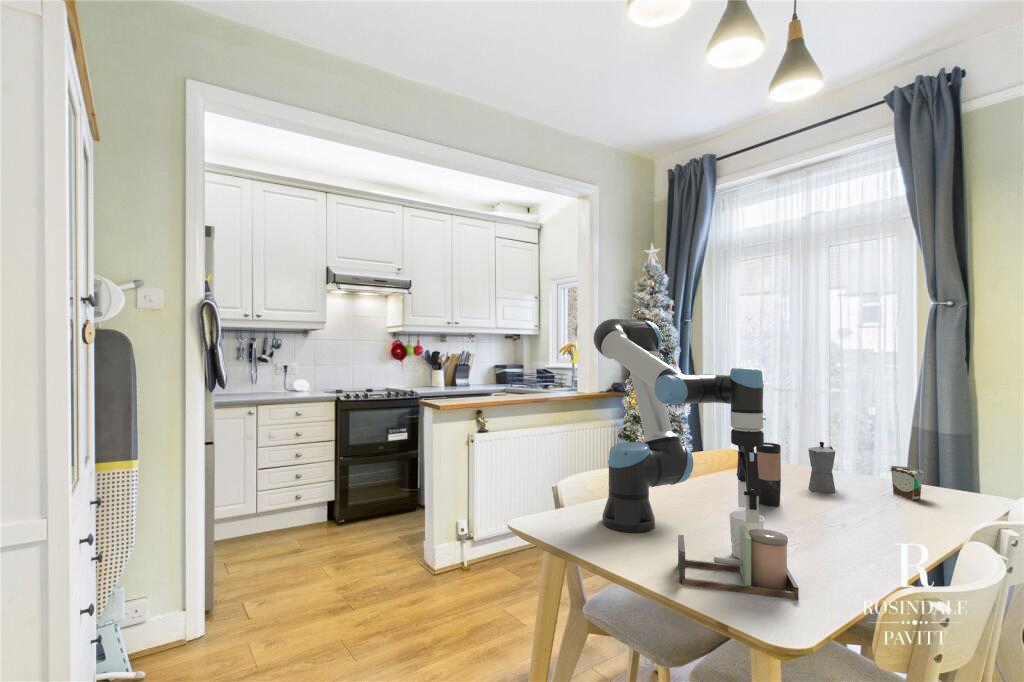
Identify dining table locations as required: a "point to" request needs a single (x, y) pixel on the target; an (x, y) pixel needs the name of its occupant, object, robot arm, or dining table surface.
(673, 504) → the dining table surface
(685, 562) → the brown wooden rack
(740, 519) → the white cup
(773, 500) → the travel mug
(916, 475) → the food container
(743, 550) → the pusher plate
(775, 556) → the terracotta jar
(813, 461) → the coffeepot
